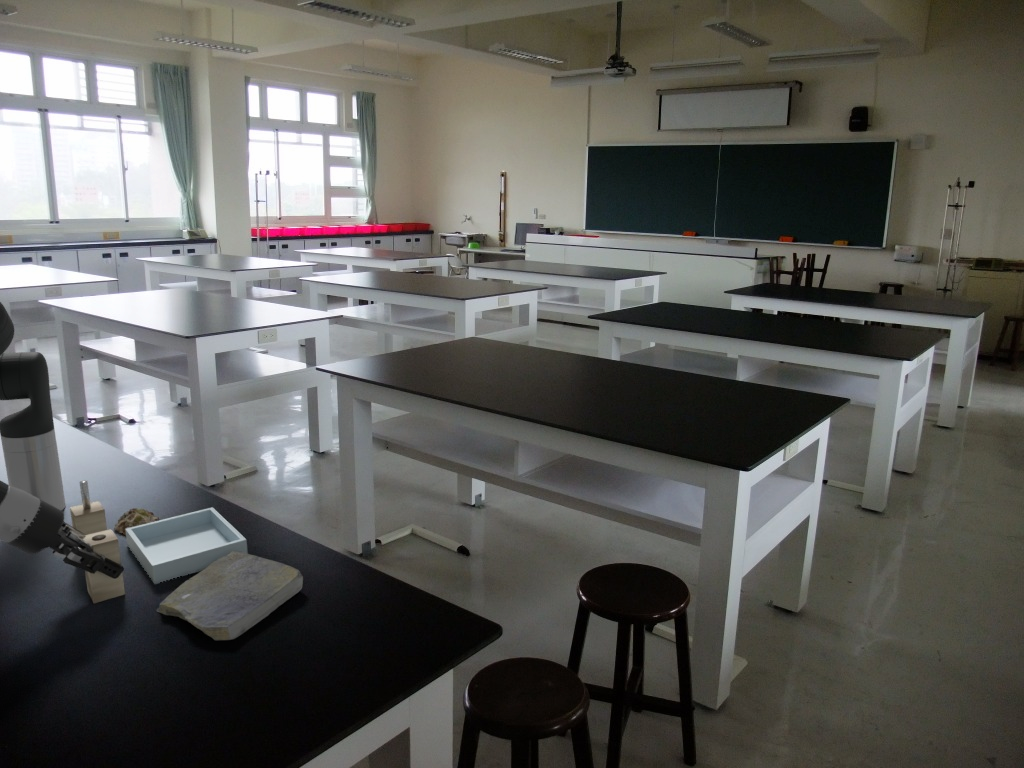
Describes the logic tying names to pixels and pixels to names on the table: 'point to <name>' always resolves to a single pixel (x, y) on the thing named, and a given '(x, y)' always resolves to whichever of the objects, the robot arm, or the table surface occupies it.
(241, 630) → the fossil
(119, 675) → the table surface
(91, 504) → the block
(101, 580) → the block
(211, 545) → the tray
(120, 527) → the mineral rock
